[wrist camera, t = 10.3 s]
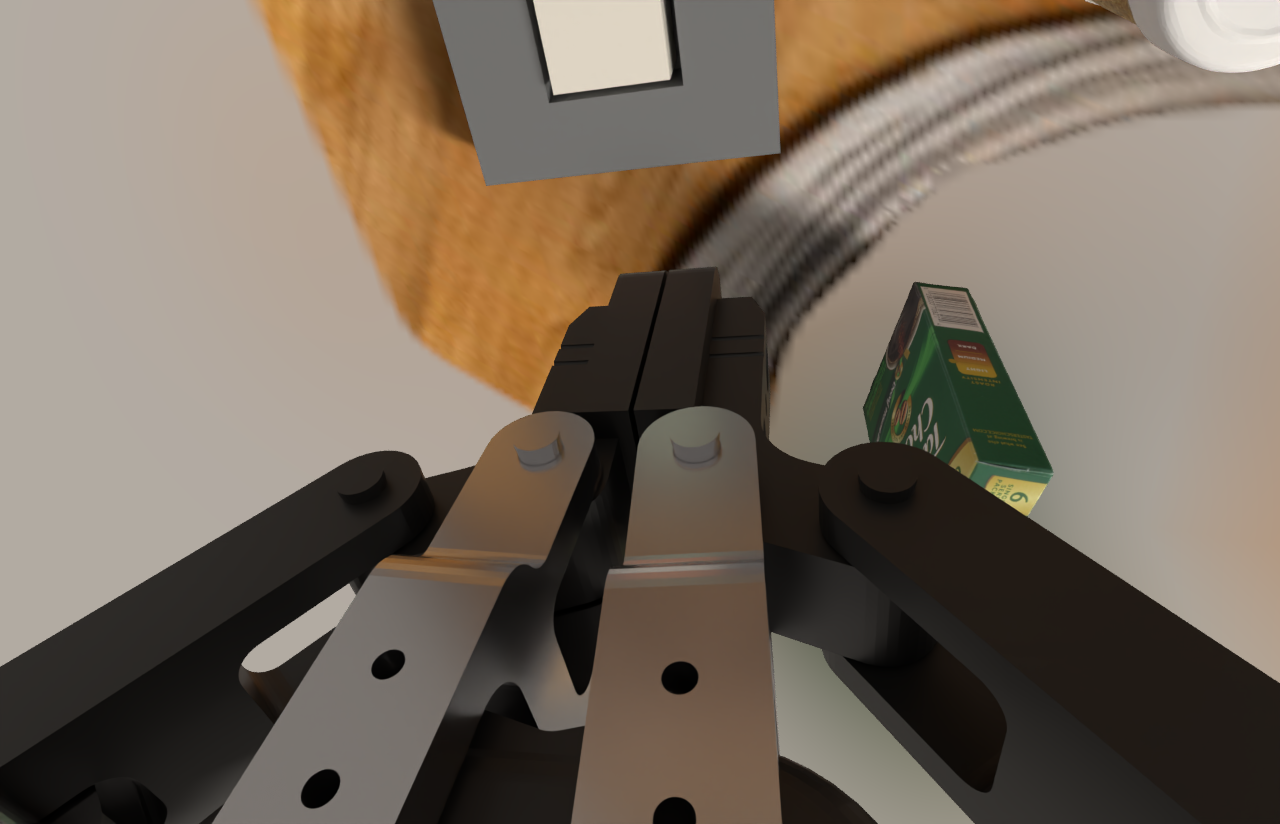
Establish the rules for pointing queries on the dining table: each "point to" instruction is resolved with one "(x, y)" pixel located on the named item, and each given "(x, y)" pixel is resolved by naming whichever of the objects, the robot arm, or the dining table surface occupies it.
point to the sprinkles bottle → (1208, 30)
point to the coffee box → (956, 397)
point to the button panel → (614, 93)
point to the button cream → (606, 42)
